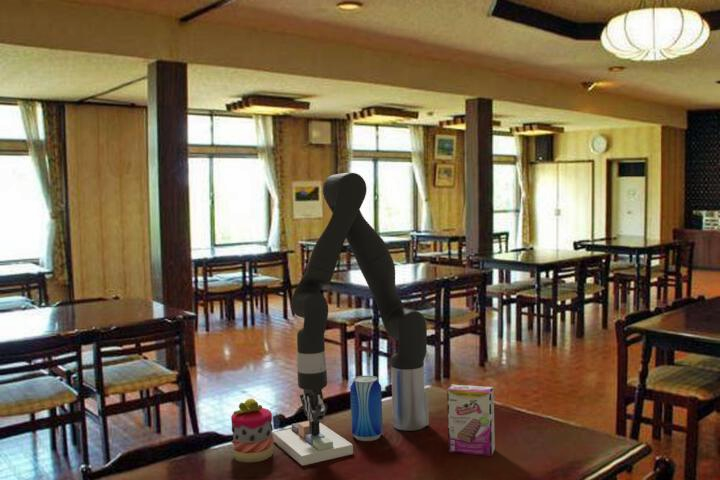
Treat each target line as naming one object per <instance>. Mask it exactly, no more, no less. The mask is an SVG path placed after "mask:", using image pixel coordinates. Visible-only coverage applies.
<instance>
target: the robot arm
mask: <svg viewBox="0 0 720 480" xmlns="http://www.w3.org/2000/svg"><path fill="white" fill-rule="evenodd" d="M367 188H368V187H367V183H366V180H365V179H364V178H363V176H361V175H360V174H358V173H356V172H344V173H336V174H331V175H329V176H328V177H327V178H326V179H325V180H324V183H323V186H322V193H323V197H324V200H325V202H326V204H327V206H328V208H329V209H330V211H331V213H332V214H331V217H330V219H329V221H328V223H327V225H326V227H325V229H323V232H322V233H321V234H320V236H319V237H318V239H317V241H316V242H315V245H314V247H313V249H312V251H311V254H310V257H309V260H308V263H307V266H306V270H305V272H304V274H303V276H302V277H301V279H300V281H299V282H298V284H297V286H296V287H295V289H294V292H293V294H292V297H291V303H290V306H291V307H290V308H291V310H292V313H294V315H295V316H297V317H299V318H303V327H302V328H301V329H299V330H298V331H297V334H296V343H297V346H296V347H297V355H296V356H297V357H296V365H297V366H296V367H297V371H296V372H297V387H298V388H299V389H301V390H302V391H303V393H301V394H299V399H300V402H301V406H302V409H303V412H304V415H305V416H306V417H307V421H309V427H310V434H311V435H313V436H315V435H319V434H320V427H319V423H320V421H322V420H324V418H325V415H326V412H327V410H328V403H326V402H325V403H324V395H323V389H324V388H326V386H328V372H327V371H328V370H327V369H328V368H327V367H328V366H327V356H326V350H325V349H326V347H325V345H326V344H325V342H326V341H325V333H326V332H325V331H326V328H327V323H328V316H329V304H328V301H327V298H326V297H325V295H323V294H322V293H320V292H321V290H322V288H323V287H324V286H328V285H329V284H330V283H331V281H332V280H333V276H334V273H335V270H336V267H337V264H338V261H339V257H340V254H341V251H342V249H343V247H344V243H345V242H346V241H347V243H348V246H349V248H350V249H351V252H352V253H353V256H354V258H355V261H356V264H357V265H358V268H359V270H360V272H361V274H362V276H363V278H364V280H365V282H366V284H367V286H368V288H369V291H370V293H371V295H372V297H373V299H374V302H375V304H376V307H377V310H378V313H379V315H380V318H381V322H382V324H383V327H384V330H385V332H386V333H387V335H388V336H389V337H391V338H392V339H394V340H396V341H398V342H397V343H398V347H397V348H398V350H397V352H396V353H394V354H393V355H391V357H390V369H391V370H390V372H391V373H390V374H391V376H390V377H391V394H392V395H391V398H392V399H391V400H392V401H391V402H392V403H391V404H392V426H393V428H395V429H397V430H399V431H406V432H407V431H408V432H409V431H419V430H422V429H424V428H425V427H426V426H429V424H430V421H429V420H430V419H429V418H430V417H429V395H428V391H426V389H425V358H426V355H427V343H428V342H427V336H428V335H427V334H428V333H427V331H428V330H427V329H428V328H427V322H426V318H425V316H424V315H423V314H422V313H421V312H420V311H418V310H414V309H410V308H407V307H405V305H404V303H403V301H402V299H401V298H400V295H399V293H398V291H397V287H396V286H397V285H396V267H395V266H396V265H395V263H394V259H393V256H392V255H391V253H390V251H389V248H388V246H387V244H386V242H385V241H384V239H383V238H382V237H381V235H380V234H379V233H378V232H377V231H376V230H375V229H374V228H373V227H372V226H371V225H370V223H369V222H368V221H367V220H366V218H365V217H364V216H363V214H362V211H361V210H360V209H361V207H362V205H363V203H364V201H365V198H366V196H367Z"/></svg>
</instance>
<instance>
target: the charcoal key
mask: <svg viewBox="0 0 720 480" xmlns="http://www.w3.org/2000/svg"><path fill="white" fill-rule="evenodd" d="M298 423H301V421H300V422H296V423H292V424H291V429H292V431H293V432H294V433H296V434H299V431H298Z"/></svg>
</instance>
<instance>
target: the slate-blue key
mask: <svg viewBox="0 0 720 480" xmlns="http://www.w3.org/2000/svg"><path fill="white" fill-rule="evenodd" d="M305 435H306V442H307V443H308V444H310V445H313V440H315V439H320V438H324V437H325V436H324V435H323V434H321V433H320V434H319V435H315V436H313V435H311V434H305Z"/></svg>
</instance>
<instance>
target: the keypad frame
mask: <svg viewBox="0 0 720 480" xmlns="http://www.w3.org/2000/svg"><path fill="white" fill-rule="evenodd" d="M319 427H320V433H321V434H323V435H324V436H325V437H327V438H329V439H330V440H331V441H333V448H331V449H327V450H322V451H318V450H316V449H315V448H314V447H313V445H310V444H308V443H307V442H306V439H305V440H303V439H302V438H301V437H299V434H296V433H294V432H293V431H292V428H288V429H282V430H279V431H272V435H273V437H274V442H273V443H275V444H277V446H279V447H280V448H281V449H282V450H283V451H284V452H285V453H286V454H288V455H289V456H290V457H291V458H292V459H293V460H295V461H296V462H297V463H298V464H299V465H300V466H307V465H311V464H315V463H320V462H324V461H329V460H333V459H337V458H341V457H346V456H350V455H353V454H354V446H353V443H351V442H350V441H348V440H347V439H346V438H344V437H343V436H341V435H339V434H338V433H336V432H335V431H333V430H332V429H330V428H329V427H327V426H326V425H324V424H323V423H322V422H319Z"/></svg>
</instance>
